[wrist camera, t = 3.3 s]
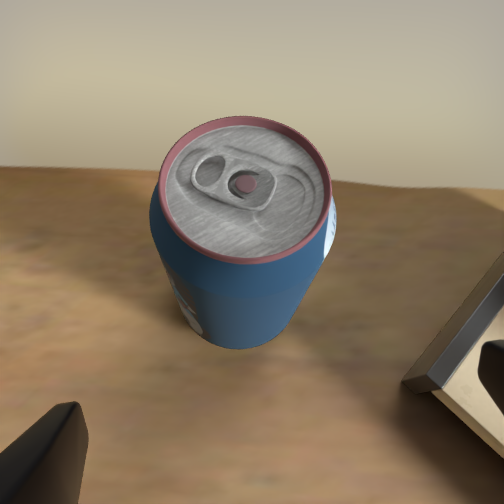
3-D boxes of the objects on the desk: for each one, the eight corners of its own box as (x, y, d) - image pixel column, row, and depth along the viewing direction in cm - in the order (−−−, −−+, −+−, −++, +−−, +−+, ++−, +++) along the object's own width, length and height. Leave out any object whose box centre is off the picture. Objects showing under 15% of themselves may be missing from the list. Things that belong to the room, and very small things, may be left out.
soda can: (309, 270, 24) (374, 141, 13) (268, 373, 21) (310, 317, 10) (211, 230, 25) (197, 78, 14) (160, 324, 22) (94, 226, 11)
